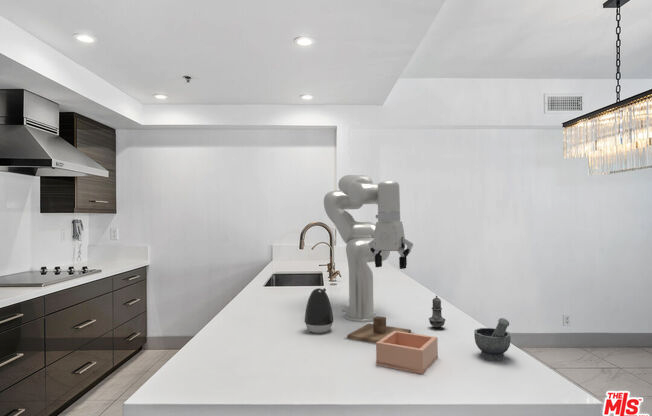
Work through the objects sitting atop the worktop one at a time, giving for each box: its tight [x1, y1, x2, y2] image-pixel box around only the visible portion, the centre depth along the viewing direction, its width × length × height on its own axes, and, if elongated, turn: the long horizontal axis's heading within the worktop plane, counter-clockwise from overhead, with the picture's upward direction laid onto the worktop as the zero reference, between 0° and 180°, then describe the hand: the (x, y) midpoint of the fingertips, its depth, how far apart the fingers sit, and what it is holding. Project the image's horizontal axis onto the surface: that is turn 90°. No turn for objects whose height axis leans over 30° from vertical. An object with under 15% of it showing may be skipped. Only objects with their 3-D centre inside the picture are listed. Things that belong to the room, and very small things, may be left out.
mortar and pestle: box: [473, 317, 512, 362], centre depth 113 cm, size 11×9×12 cm
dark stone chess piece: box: [428, 295, 446, 331], centre depth 141 cm, size 6×6×12 cm
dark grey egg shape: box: [304, 288, 334, 334], centre depth 140 cm, size 10×10×15 cm
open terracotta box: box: [375, 331, 439, 375], centre depth 110 cm, size 13×13×6 cm
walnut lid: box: [346, 315, 412, 344], centre depth 133 cm, size 16×16×6 cm
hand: (390, 267), depth 136 cm, fingers open, 9 cm apart
